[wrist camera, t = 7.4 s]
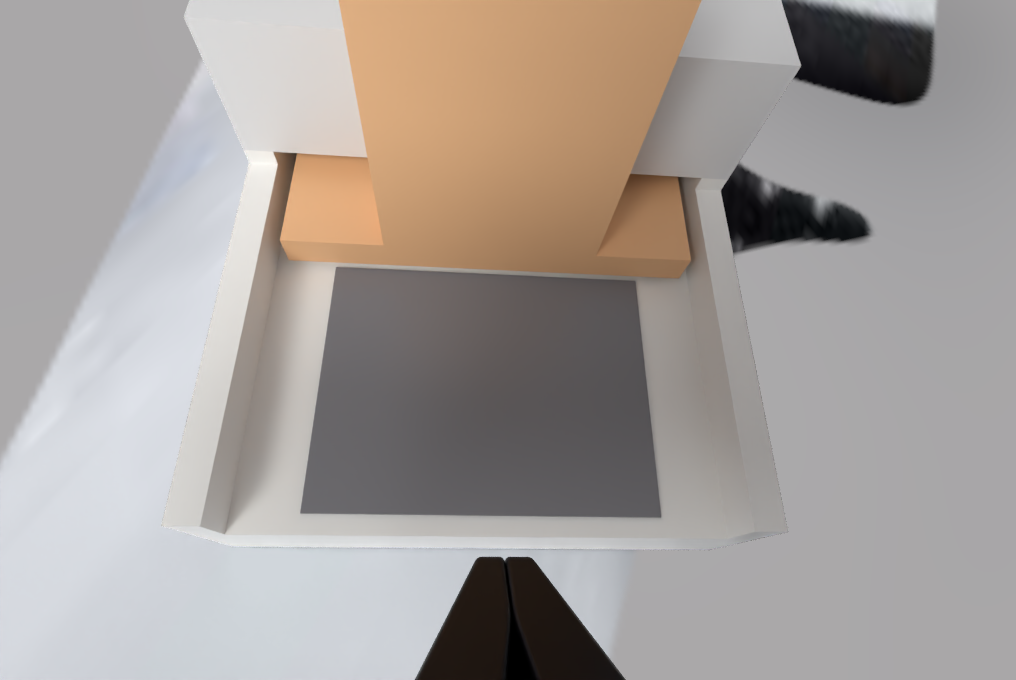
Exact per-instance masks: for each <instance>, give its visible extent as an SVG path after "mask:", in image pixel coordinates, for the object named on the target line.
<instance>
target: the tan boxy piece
mask: <svg viewBox="0 0 1016 680" xmlns="http://www.w3.org/2000/svg"><path fill="white" fill-rule="evenodd" d="M701 1H702V0H339V6H340V11H341V16H342V22H343V27H344V33H345V38H346V44H347V49H348V55H349V60H350V65H351V71H352V76H353V82H354V87H355V93H356V98H357V104H358V109H359V114H360V120H361V125H362V131H363V136H364V142H365V147H366V153H367V157H350V156H334V155H318V154H302V153H297V156H296V161H295V166H294V171H293V176H292V181H291V186H290V191H289V196H288V201H287V206H286V211H285V216H284V221H283V227H282V232H281V237H280V242H281V244H282V246H283V248H284V251H285V253H286V255H287V257H288V259H289V260H293V261H314V262H336V263H357V264H379V265H400V266H422V267H443V268H464V269H486V270H507V271H529V272H550V273H572V274H593V275H614V276H636V277H657V278H680V276H681V275H682V273H683V272H684V270H685V269H686V267H687V266H688V265H689V263H690V262H691V256H690V250H689V244H688V238H687V231H686V225H685V219H684V213H683V206H682V200H681V194H680V188H679V182H678V177H675V176H659V175H643V174H630V173H631V170H632V168H633V166H634V163H635V161H636V158H637V156H638V153H639V151H640V149H641V146H642V144H643V141H644V139H645V136H646V134H647V132H648V129H649V127H650V124H651V122H652V119H653V117H654V115H655V112H656V110H657V107H658V105H659V102H660V100H661V98H662V95H663V93H664V90H665V88H666V85H667V83H668V81H669V78H670V76H671V73H672V71H673V68H674V66H675V64H676V61H677V59H678V56H679V54H680V51H681V49H682V47H683V44H684V42H685V39H686V37H687V34H688V32H689V30H690V27H691V25H692V22H693V20H694V18H695V15H696V13H697V10H698V8H699V5H700V3H701Z"/></svg>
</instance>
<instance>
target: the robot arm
mask: <svg viewBox="0 0 1016 680" xmlns="http://www.w3.org/2000/svg"><path fill="white" fill-rule="evenodd" d="M415 680H625V678H624V677H623V676H622V674H621V673H620V672H619V670H618V669H617V668H616V667H615V665H614V664H613V663H612V661H611V660H610V659H609V657H608V656H607V655H606V654H605V652H604V651H603V650H602V648H601V647H600V646H599V644H598V643H597V642H596V641H595V639H594V638H593V637H592V635H591V634H590V633H589V631H588V630H587V629H586V627H585V626H584V625H583V624H582V622H581V621H580V620H579V618H578V617H577V616H576V614H575V613H574V612H573V611H572V609H571V608H570V607H569V605H568V604H567V603H566V601H565V600H564V599H563V598H562V596H561V595H560V594H559V592H558V591H557V590H556V588H555V587H554V586H553V584H552V583H551V582H550V581H549V579H548V578H547V577H546V575H545V574H544V573H543V571H542V570H541V569H540V568H539V566H538V565H537V564H536V562H535V561H534V560H533V559H532V558H530V557H508V558H506V560H505V561H504V560H503V558H501V557H479V558H477V559H476V561H475V563H474V564H473V566H472V568H471V570H470V572H469V574H468V576H467V578H466V580H465V582H464V584H463V586H462V588H461V590H460V592H459V594H458V596H457V598H456V600H455V602H454V604H453V606H452V608H451V610H450V612H449V614H448V616H447V618H446V620H445V622H444V623H443V625H442V627H441V629H440V631H439V633H438V635H437V637H436V639H435V641H434V643H433V645H432V647H431V649H430V651H429V653H428V655H427V657H426V659H425V661H424V663H423V665H422V667H421V669H420V671H419V673H418V675H417V677H416V679H415Z"/></svg>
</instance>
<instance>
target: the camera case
mask: <svg viewBox="0 0 1016 680" xmlns="http://www.w3.org/2000/svg"><path fill="white" fill-rule="evenodd" d="M184 19H185V21H186V23H187V26H188V28H189V30H190V32H191V34H192V36H193V39H194V41H195V43H196V46H197V48H198V50H199V52H200V54H201V57H202V59H203V61H204V63H205V66H206V68H207V70H208V72H209V74H210V77H211V79H212V81H213V83H214V86H215V88H216V90H217V92H218V94H219V97H220V99H221V101H222V103H223V106H224V108H225V110H226V112H227V114H228V117H229V119H230V121H231V123H232V126H233V128H234V130H235V132H236V134H237V137H238V139H239V141H240V143H241V146H242V148H243V150H244V152H245V154H246V157H247V159H248V161H249V165H248V169H247V173H246V177H245V181H244V186H243V190H242V194H241V198H240V202H239V206H238V210H237V214H236V219H235V223H234V227H233V231H232V235H231V239H230V243H229V247H228V252H227V256H226V260H225V264H224V268H223V272H222V276H221V281H220V285H219V289H218V293H217V297H216V301H215V305H214V309H213V314H212V318H211V322H210V326H209V330H208V334H207V338H206V342H205V347H204V351H203V355H202V359H201V363H200V367H199V371H198V375H197V380H196V384H195V388H194V392H193V396H192V400H191V404H190V408H189V413H188V417H187V421H186V425H185V429H184V433H183V437H182V441H181V446H180V450H179V454H178V458H177V462H176V466H175V470H174V474H173V479H172V483H171V487H170V491H169V495H168V499H167V503H166V507H165V512H164V516H163V520H162V524H161V526H163V527H166V528H170V529H173V530H176V531H180V532H183V533H187V534H190V535H194V536H197V537H201V538H204V539H208V540H211V541H214V542H218V543H221V544H225V545H228V546H232V547H338V548H483V549H628V550H644V549H645V550H712V549H716V548H721V547H725V546H730V545H734V544H738V543H743V542H747V541H752V540H756V539H760V538H765V537H769V536H773V535H777V534H782V533H786V532H788V530H787V524H786V519H785V514H784V510H783V504H782V499H781V493H780V488H779V484H778V478H777V473H776V468H775V463H774V458H773V453H772V448H771V443H770V438H769V433H768V428H767V423H766V418H765V413H764V408H763V402H762V397H761V393H760V387H759V382H758V378H757V372H756V367H755V362H754V357H753V352H752V348H751V342H750V337H749V332H748V327H747V322H746V316H745V311H744V306H743V301H742V296H741V291H740V286H739V281H738V276H737V271H736V266H735V261H734V256H733V251H732V246H731V241H730V235H729V230H728V225H727V220H726V215H725V210H724V205H723V200H722V195H721V189H722V188H723V186H724V185H725V183H726V182H727V180H728V179H729V177H730V175H731V174H732V172H733V171H734V169H735V168H736V166H737V165H738V163H739V161H740V160H741V158H742V157H743V155H744V153H745V152H746V150H747V149H748V147H749V146H750V144H751V143H752V141H753V140H754V138H755V136H756V135H757V134H758V132H759V130H760V129H761V127H762V126H763V124H764V123H765V121H766V120H767V118H768V116H769V115H770V113H771V112H772V110H773V109H774V107H775V106H776V104H777V102H778V101H779V99H780V98H781V96H782V95H783V93H784V92H785V90H786V89H787V87H788V85H789V84H790V82H791V81H792V79H793V78H794V76H795V75H796V73H797V72H798V70H799V68H800V67H801V64H800V61H799V58H798V54H797V51H796V48H795V45H794V41H793V38H792V35H791V32H790V28H789V25H788V22H787V19H786V15H785V12H784V9H783V6H782V2H781V0H702V1H701V3H700V5H699V8H698V10H697V13H696V15H695V18H694V20H693V22H692V25H691V27H690V30H689V32H688V34H687V37H686V39H685V42H684V44H683V47H682V49H681V51H680V54H679V56H678V59H677V61H676V64H675V66H674V68H673V71H672V73H671V76H670V78H669V81H668V83H667V85H666V88H665V90H664V93H663V95H662V98H661V100H660V102H659V105H658V107H657V110H656V112H655V115H654V117H653V119H652V122H651V124H650V127H649V129H648V132H647V134H646V136H645V139H644V141H643V144H642V146H641V149H640V151H639V153H638V156H637V158H636V161H635V163H634V166H633V168H632V170H631V173H630V174H643V175H659V176H675V177H678V182H679V188H680V194H681V200H682V206H683V213H684V219H685V225H686V231H687V238H688V244H689V250H690V256H691V262H690V263H689V265H688V266H687V267H686V269H685V270H684V272H683V273H682V275H681V276H680V278H657V277H636V276H614V275H593V274H572V273H550V272H529V271H507V270H486V269H464V268H443V267H422V266H400V265H379V264H357V263H336V262H314V261H293V260H289V259H288V257H287V255H286V253H285V251H284V248H283V246H282V244H281V242H280V237H281V232H282V227H283V221H284V216H285V211H286V206H287V201H288V196H289V191H290V186H291V181H292V176H293V171H294V166H295V161H296V156H297V153H302V154H318V155H334V156H350V157H367V153H366V147H365V142H364V136H363V131H362V125H361V120H360V114H359V109H358V104H357V98H356V93H355V87H354V82H353V76H352V71H351V65H350V60H349V55H348V49H347V44H346V38H345V33H344V27H343V22H342V16H341V11H340V6H339V0H190V1H189V3H188V6H187V9H186V12H185V15H184Z"/></svg>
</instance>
